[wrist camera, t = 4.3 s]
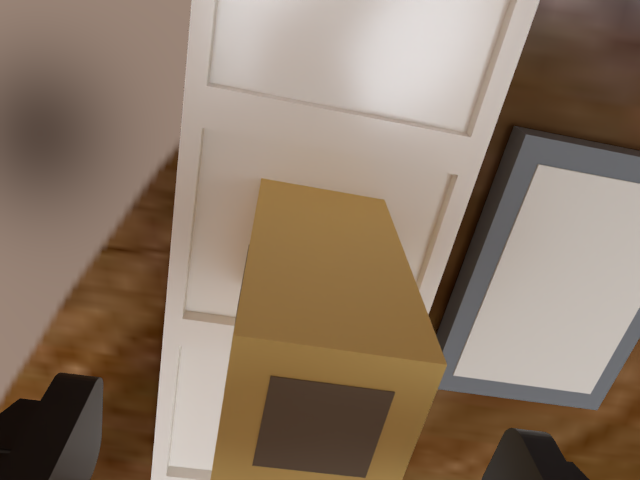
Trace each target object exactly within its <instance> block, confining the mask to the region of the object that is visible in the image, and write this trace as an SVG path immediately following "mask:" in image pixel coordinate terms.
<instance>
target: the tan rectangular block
mask: <svg viewBox="0 0 640 480" xmlns="http://www.w3.org/2000/svg"><path fill="white" fill-rule="evenodd" d="M446 367H447V363H446V360H445V358H444V355H443V352H442V350H441V347H440V344H439V342H438V339H437V337H436V334H435V331H434V329H433V326H432V323H431V321H430V318H429V315H428V313H427V310H426V308H425V305H424V302H423V300H422V297H421V294H420V292H419V289H418V287H417V284H416V281H415V279H414V276H413V273H412V271H411V268H410V265H409V263H408V260H407V258H406V255H405V252H404V250H403V247H402V244H401V242H400V239H399V236H398V234H397V231H396V229H395V226H394V223H393V221H392V218H391V215H390V213H389V210H388V208H387V205H386V202H385V200H383V199H377V198H372V197H366V196H360V195H354V194H349V193H343V192H337V191H332V190H326V189H320V188H315V187H309V186H303V185H298V184H292V183H286V182H281V181H275V180H269V179H264V178H261V183H260V188H259V194H258V200H257V205H256V211H255V216H254V222H253V227H252V233H251V239H250V244H249V246H248V252H247V257H246V263H245V268H244V274H243V279H242V285H241V290H240V296H239V301H238V307H237V313H236V319H235V326H234V332H233V338H232V345H231V351H230V357H229V364H228V370H227V376H226V383H225V389H224V396H223V403H222V409H221V415H220V422H219V428H218V434H217V441H216V447H215V453H214V460H213V466H212V472H211V479H210V480H402V478H403V476H404V473H405V471H406V468H407V466H408V463H409V461H410V458H411V456H412V453H413V451H414V448H415V445H416V443H417V440H418V438H419V435H420V433H421V430H422V428H423V425H424V423H425V420H426V418H427V415H428V412H429V410H430V407H431V405H432V402H433V400H434V397H435V395H436V392H437V390H438V387H439V385H440V382H441V379H442V377H443V374H444V372H445V369H446Z"/></svg>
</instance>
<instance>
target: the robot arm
mask: <svg viewBox="0 0 640 480" xmlns="http://www.w3.org/2000/svg"><path fill="white" fill-rule="evenodd" d="M102 407H103V380H102V378H101V377H93V376H84V375H76V374H68V373H58V374H57V375H56V376H55V377H54V379H53V381H52V382H51V384H50V386H49V387H48V389H47V391H46V392H45V394H44V396H43V397H42V399H41V401H37V400H28V399H19V400H17V401H16V402H15V403H13V404H12V405H11V406H9V407H8V408H7V409H5V410H4V411H3V412H1V413H0V480H90V479H91V476H92V474H93V471H94V468H95V465H96V462H97V458H98V454H99V450H100V444H101V436H102ZM482 480H589V479H588V478H587V477H586V476H585V475H584V474H583V473H582V472H581V471H580V470H579V469H578V467H577V466H576V465H575V464H574V463H573V462H566V460H565V458H564V456H563V455H562V453H561V451H560V449H559V448H558V446H557V444H556V442H555V441H554V439H553V438H552V436H551V435H550V434H548V433H546V432H540V431H532V430H523V429H515V428H510V429H508V430H506V431H505V433H504V434H503V436H502V438H501V440H500V442H499V444H498V446H497V448H496V451H495V453H494V455H493V457H492V459H491V461H490V463H489V465H488V467H487V469H486V471H485V473H484V475H483V477H482Z"/></svg>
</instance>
